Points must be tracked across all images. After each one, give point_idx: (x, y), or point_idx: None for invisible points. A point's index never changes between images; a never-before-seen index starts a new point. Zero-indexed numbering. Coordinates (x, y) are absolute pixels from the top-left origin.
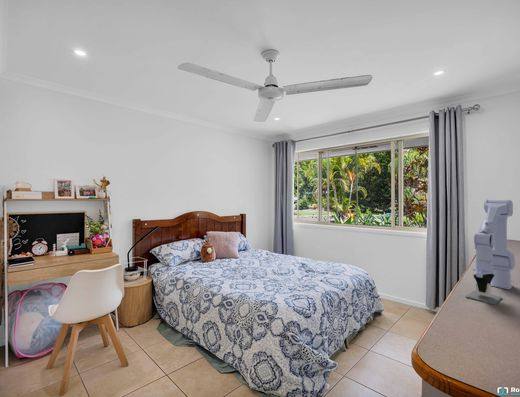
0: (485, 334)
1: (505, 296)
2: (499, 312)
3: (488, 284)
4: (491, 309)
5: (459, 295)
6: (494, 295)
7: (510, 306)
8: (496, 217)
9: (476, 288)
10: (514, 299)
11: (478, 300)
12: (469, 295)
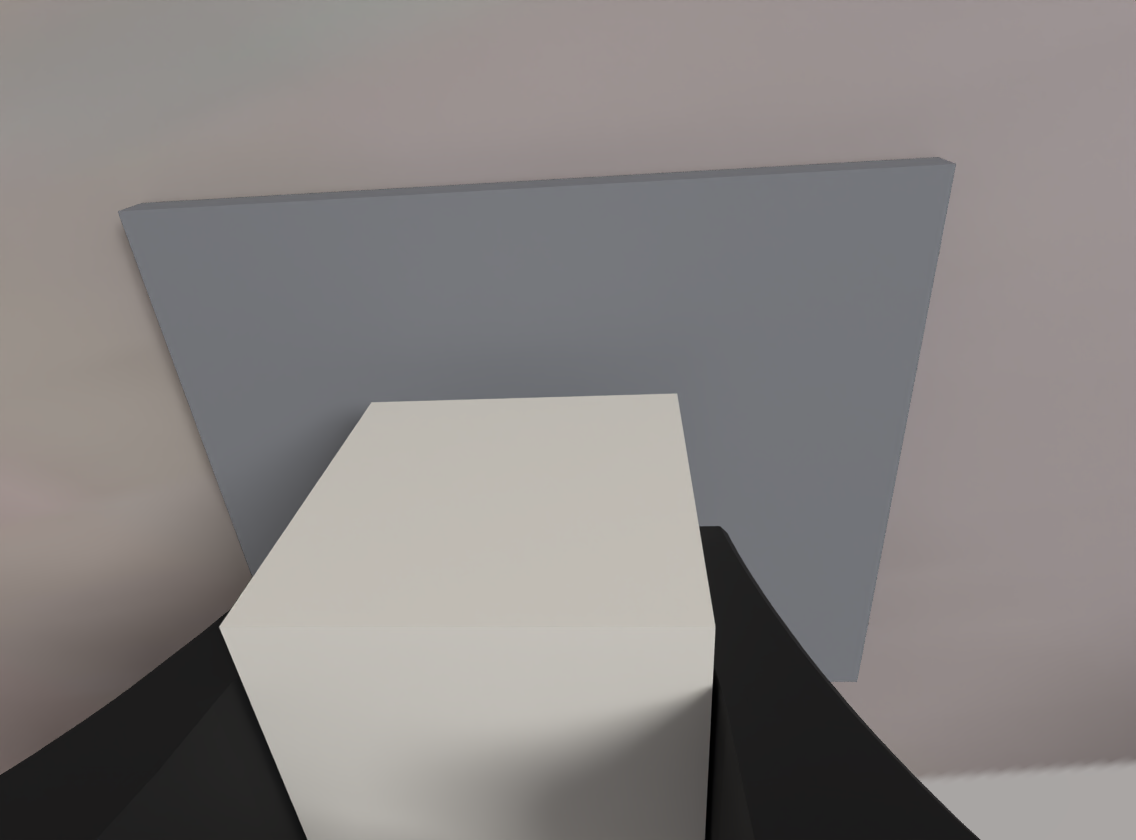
0: None
1: (1062, 670)
2: (30, 737)
3: None
4: (25, 665)
5: (148, 7)
6: (853, 589)
7: None
8: None
9: (315, 504)
10: (953, 767)
11: (228, 454)
12: (290, 253)
